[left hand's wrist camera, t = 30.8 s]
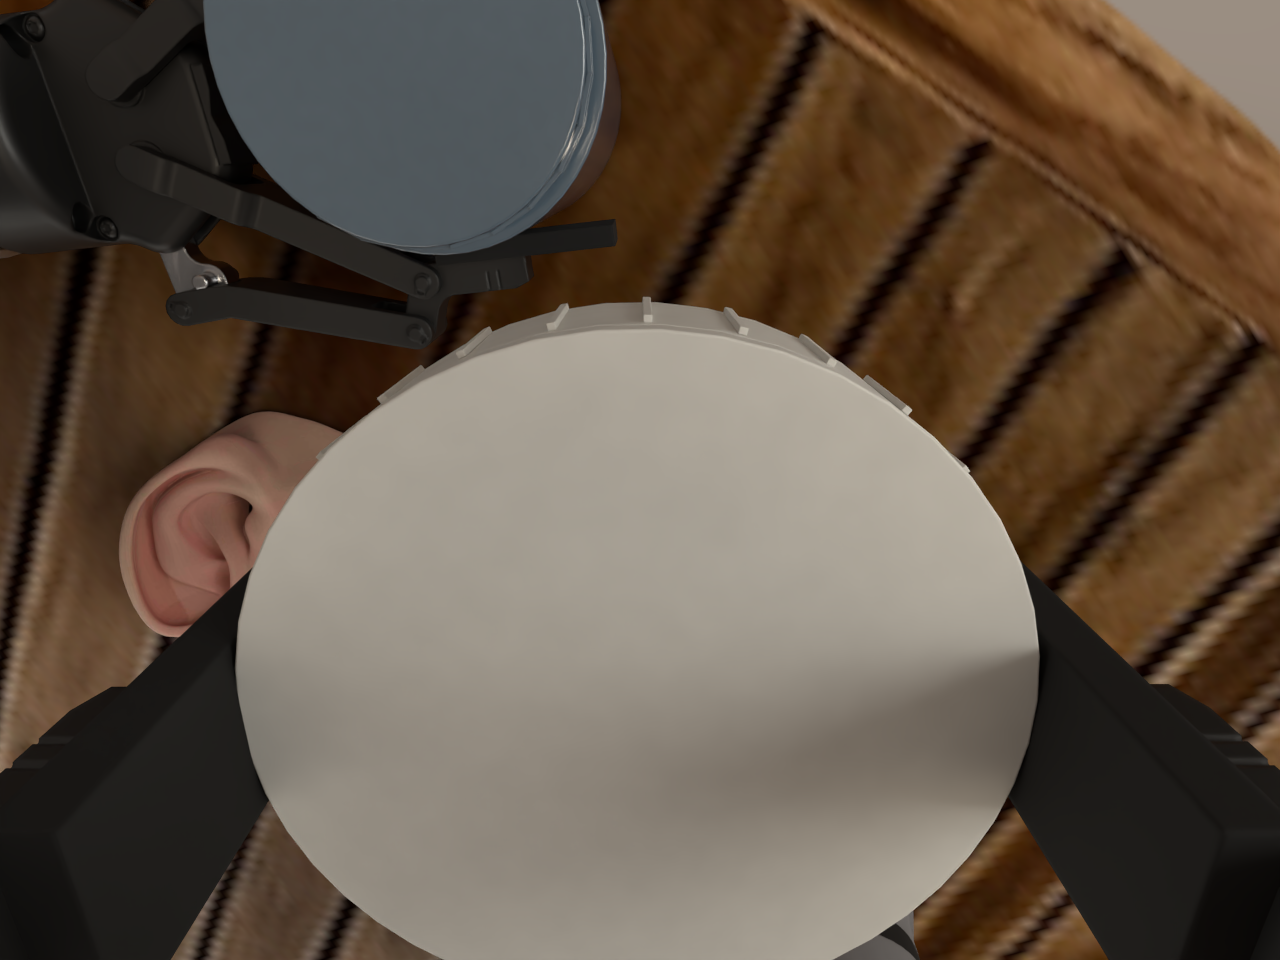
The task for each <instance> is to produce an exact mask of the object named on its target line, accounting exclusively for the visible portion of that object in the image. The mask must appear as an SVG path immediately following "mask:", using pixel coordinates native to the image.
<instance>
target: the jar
mask: <svg viewBox="0 0 1280 960" xmlns="http://www.w3.org/2000/svg"><path fill="white" fill-rule="evenodd" d="M203 9H204V26H205V35H206V41H207V47H208V52H209V58H210V62H211V65H212V69H213V72H214V76H215V79H216V83H217V86H218V89H219V91H220V94H221V96H222V99H223V101H224V104H225V106H226V109H227V111H228V113H229V115H230V117H231V119H232V121H233V123H234V124H235V126H236V128H237V130H238V132H239V134H240V136H241V137H242V139H243V140H244V142H245V143H246V145H247V146H248V148H249V149H250V151H251V152H252V154H253V155H254V157H255V158H256V159H257V161H258V162H259V163H260V164H261V166H262V167H263V168H264V169H265V170H266V171H267V173H268V174H269V175H270V176H271V177H272V179H273V180H274V181H275V182H276V183H277V184H278V185H279V186H280V187H281V188H283V189H284V190H285V191H286V192H287V193H288V194H289V195H290V196H291V197H292V198H293V199H294V200H296V201H297V202H298V203H300V204H301V205H302V206H304V207H305V208H306V209H308V210H309V211H310V212H311V213H313V214H314V215H316V216H317V218H319V219H321V220H323V221H325V222H327V223H329V224H331V225H333V226H335V227H337V228H339V229H341V230H343V231H345V232H347V233H349V234H351V235H353V236H355V237H356V238H358V239H360V240H361V241H366V242H370V243H375V244H379V245H384V246H388V247H391V248H394V249H398V250H401V251H406V252H412V253H419V254H425V255H452V254H461V253H469V252H473V251H477V250H481V249H485V248H489V247H492V246H494V245H497V244H499V243H501V242H504V241H506V240H509V239H511V238H513V237H515V236H516V235H518V234H520V233H522V232H524V231H526V230H527V229H529V228H531V227H533V226H535V225H537V224H538V223H540V222H542V221H544V220H546V219H548V218H549V217H551V216H553V215H555V214H557V213H559V212H560V211H562V210H564V209H565V208H567V207H569V206H570V205H572V204H573V203H574V202H576V201H577V200H578V199H579V198H581V197H582V196H583V195H584V194H585V193H586V192H587V191H588V190H589V189H590V188H591V186H592V185H593V184H594V183H595V181H596V180H597V179H598V177H599V176H600V174H601V173H602V171H603V169H604V168H605V166H606V164H607V162H608V160H609V158H610V155H611V153H612V150H613V148H614V145H615V141H616V138H617V134H618V130H619V123H620V115H621V91H620V82H619V76H618V71H617V67H616V62H615V59H614V55H613V51H612V48H611V44H610V40H609V37H608V33H607V30H606V26H605V22H604V19H603V15H602V11H601V8H600V4H599V0H203Z"/></svg>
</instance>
